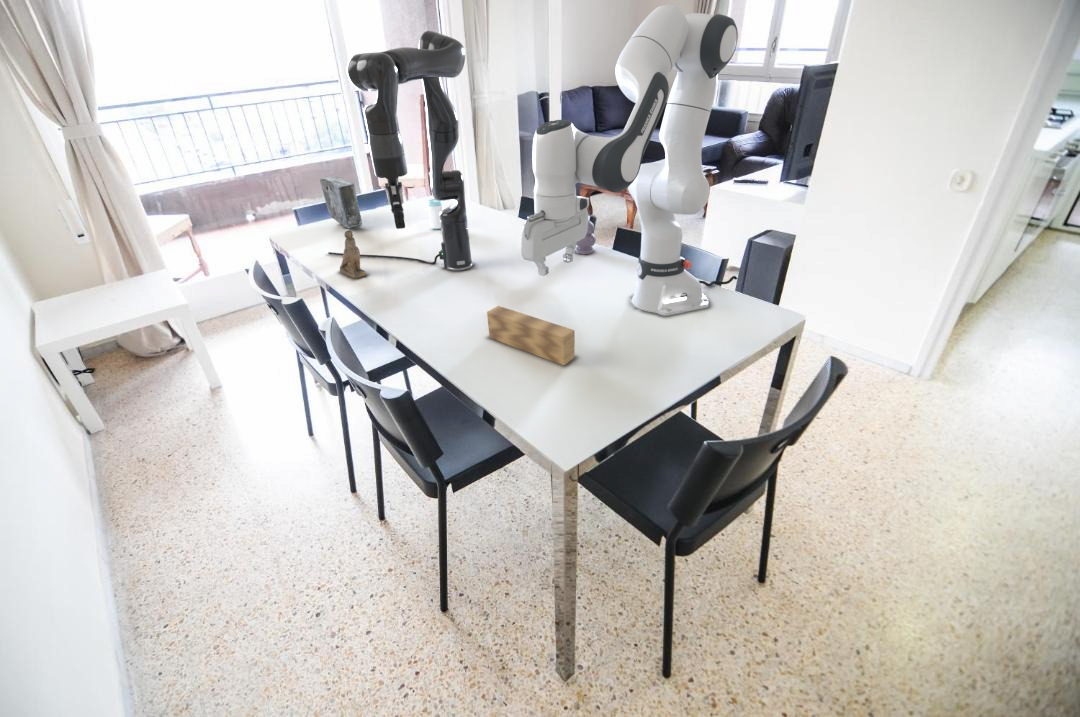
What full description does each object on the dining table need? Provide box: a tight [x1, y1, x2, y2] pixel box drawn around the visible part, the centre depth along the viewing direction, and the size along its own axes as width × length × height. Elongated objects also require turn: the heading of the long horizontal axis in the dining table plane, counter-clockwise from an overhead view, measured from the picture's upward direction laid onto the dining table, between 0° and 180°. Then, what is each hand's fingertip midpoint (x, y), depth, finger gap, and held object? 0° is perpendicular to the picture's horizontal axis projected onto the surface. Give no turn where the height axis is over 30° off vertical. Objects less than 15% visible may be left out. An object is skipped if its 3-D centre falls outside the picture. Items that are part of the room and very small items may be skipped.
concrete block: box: [319, 175, 363, 229], centre depth 226 cm, size 27×9×20 cm, turn 36°
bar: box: [486, 305, 576, 366], centre depth 127 cm, size 25×4×8 cm, turn 52°
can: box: [426, 198, 445, 230], centre depth 220 cm, size 7×7×12 cm
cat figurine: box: [575, 219, 597, 255], centre depth 187 cm, size 8×8×12 cm
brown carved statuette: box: [339, 229, 367, 280], centre depth 174 cm, size 12×6×18 cm, turn 43°
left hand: (400, 223), depth 124 cm, fingers open, 8 cm apart
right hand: (556, 268), depth 112 cm, fingers open, 8 cm apart
